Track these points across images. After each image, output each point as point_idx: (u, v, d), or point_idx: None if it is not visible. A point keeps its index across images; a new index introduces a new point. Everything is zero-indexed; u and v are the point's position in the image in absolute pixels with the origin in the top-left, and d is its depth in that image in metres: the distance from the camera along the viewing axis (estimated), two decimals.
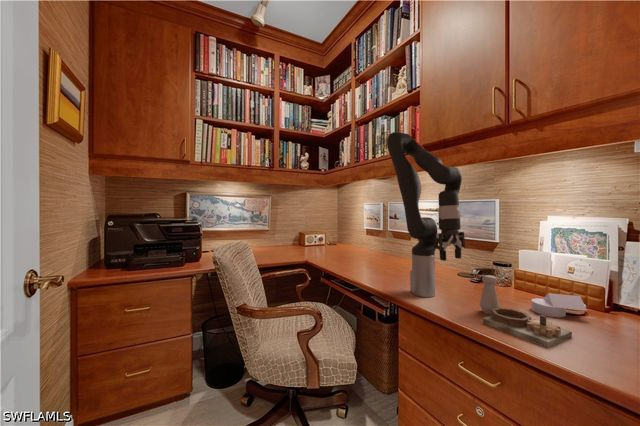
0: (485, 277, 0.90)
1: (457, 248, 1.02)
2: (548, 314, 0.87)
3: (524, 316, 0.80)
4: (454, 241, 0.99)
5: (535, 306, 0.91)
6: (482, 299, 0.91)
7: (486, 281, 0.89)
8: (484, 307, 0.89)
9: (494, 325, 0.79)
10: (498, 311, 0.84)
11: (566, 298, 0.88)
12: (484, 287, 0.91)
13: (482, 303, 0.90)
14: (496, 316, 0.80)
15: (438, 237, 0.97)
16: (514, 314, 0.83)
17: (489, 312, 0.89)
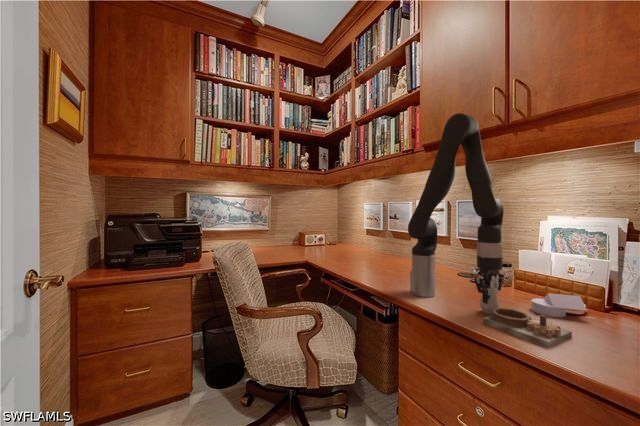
0: None
1: None
2: (548, 314, 0.87)
3: (524, 316, 0.80)
4: None
5: (535, 306, 0.91)
6: (482, 299, 0.91)
7: None
8: (484, 307, 0.89)
9: (494, 325, 0.79)
10: (498, 311, 0.84)
11: (566, 298, 0.88)
12: None
13: (482, 303, 0.90)
14: (496, 316, 0.80)
15: (479, 283, 0.87)
16: (514, 314, 0.83)
17: (489, 312, 0.89)
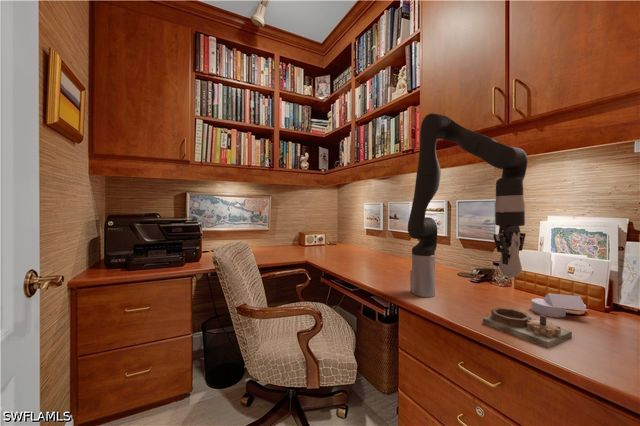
0: None
1: None
2: (548, 314, 0.87)
3: (524, 316, 0.80)
4: None
5: (535, 306, 0.91)
6: None
7: None
8: (504, 268, 0.80)
9: (494, 325, 0.79)
10: (498, 311, 0.84)
11: (566, 298, 0.88)
12: None
13: (502, 264, 0.81)
14: (496, 316, 0.80)
15: (499, 240, 0.78)
16: (514, 314, 0.83)
17: (510, 274, 0.79)
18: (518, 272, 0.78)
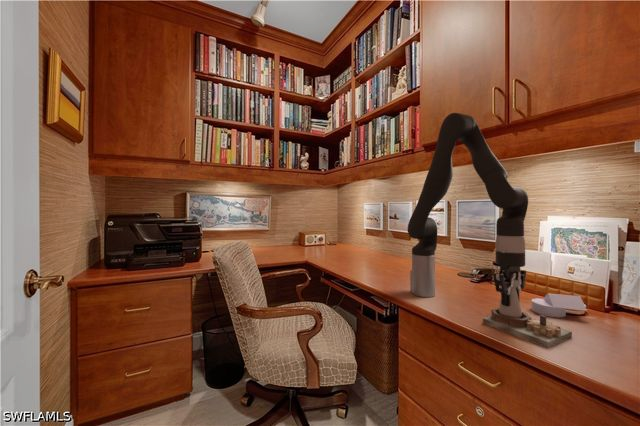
0: None
1: None
2: (548, 314, 0.87)
3: (524, 316, 0.80)
4: None
5: (535, 306, 0.91)
6: None
7: None
8: (504, 313, 0.80)
9: (494, 325, 0.79)
10: (498, 311, 0.84)
11: (566, 298, 0.88)
12: None
13: (502, 309, 0.81)
14: (496, 316, 0.80)
15: (499, 280, 0.78)
16: None
17: None
18: (518, 318, 0.79)
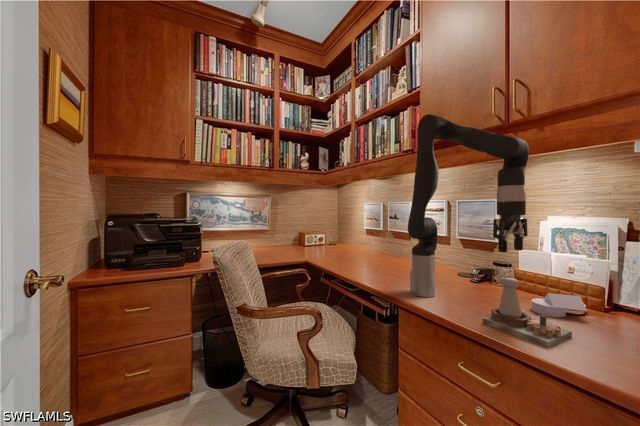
0: (505, 280, 0.80)
1: (518, 238, 0.84)
2: (548, 314, 0.87)
3: (524, 316, 0.80)
4: (516, 229, 0.82)
5: (535, 306, 0.91)
6: (502, 304, 0.81)
7: (506, 284, 0.80)
8: (504, 313, 0.80)
9: (494, 325, 0.79)
10: (498, 311, 0.84)
11: (566, 298, 0.88)
12: (503, 291, 0.81)
13: (502, 309, 0.81)
14: (496, 316, 0.80)
15: (499, 224, 0.79)
16: None
17: None
18: (518, 318, 0.79)
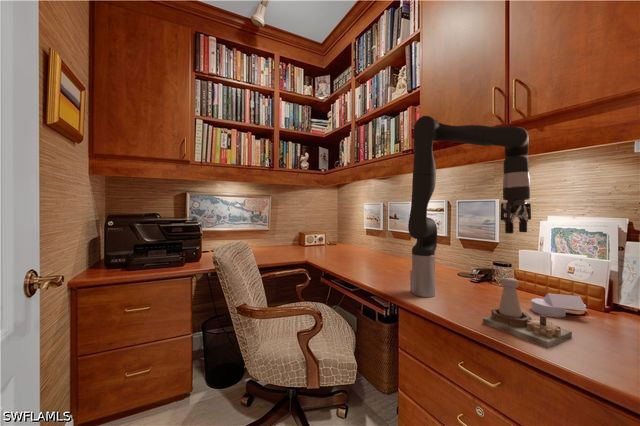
0: (505, 280, 0.80)
1: (522, 221, 0.92)
2: (548, 314, 0.87)
3: (524, 316, 0.80)
4: (521, 212, 0.89)
5: (535, 306, 0.91)
6: (502, 304, 0.81)
7: (506, 284, 0.80)
8: (504, 313, 0.80)
9: (494, 325, 0.79)
10: (498, 311, 0.84)
11: (566, 298, 0.88)
12: (503, 291, 0.81)
13: (502, 309, 0.81)
14: (496, 316, 0.80)
15: (505, 207, 0.87)
16: None
17: None
18: (518, 318, 0.79)
